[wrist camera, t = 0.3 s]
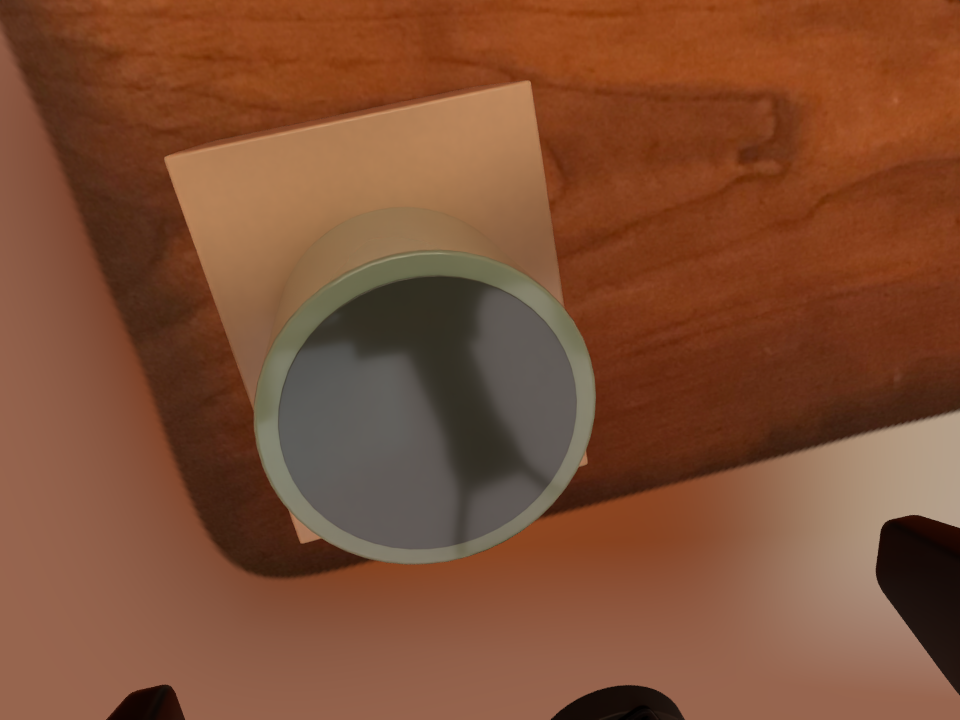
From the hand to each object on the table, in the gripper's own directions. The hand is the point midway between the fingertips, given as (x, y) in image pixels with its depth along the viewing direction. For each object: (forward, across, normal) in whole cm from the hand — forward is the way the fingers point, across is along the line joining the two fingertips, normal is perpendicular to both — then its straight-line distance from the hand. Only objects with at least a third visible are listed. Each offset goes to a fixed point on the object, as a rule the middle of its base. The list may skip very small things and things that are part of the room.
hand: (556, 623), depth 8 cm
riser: (+15, +1, -1) cm, 15 cm away
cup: (+9, +1, -1) cm, 9 cm away
